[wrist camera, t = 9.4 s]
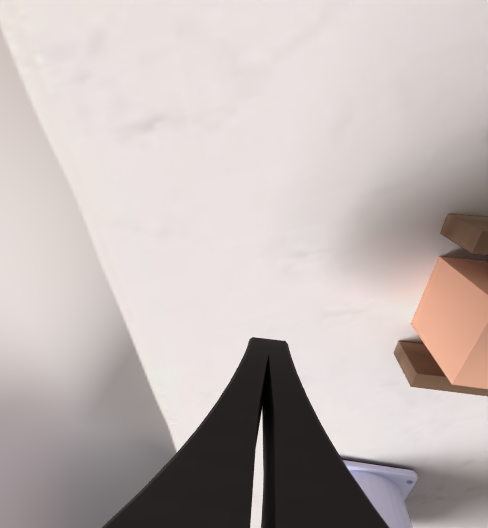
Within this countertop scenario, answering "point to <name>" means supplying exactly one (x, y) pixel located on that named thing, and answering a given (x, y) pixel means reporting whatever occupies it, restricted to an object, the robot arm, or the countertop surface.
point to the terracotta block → (456, 320)
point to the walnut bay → (417, 355)
